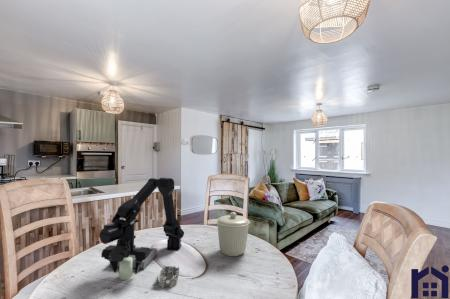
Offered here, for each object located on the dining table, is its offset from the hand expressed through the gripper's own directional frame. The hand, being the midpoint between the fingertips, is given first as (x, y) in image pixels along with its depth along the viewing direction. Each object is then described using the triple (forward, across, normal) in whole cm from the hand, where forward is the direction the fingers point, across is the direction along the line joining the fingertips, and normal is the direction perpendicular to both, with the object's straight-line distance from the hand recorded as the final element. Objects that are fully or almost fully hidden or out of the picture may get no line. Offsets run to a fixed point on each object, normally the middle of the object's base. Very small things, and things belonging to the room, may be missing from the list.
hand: (125, 272), depth 91 cm
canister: (+2, +43, +29) cm, 52 cm away
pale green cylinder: (+2, 0, 0) cm, 2 cm away
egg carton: (+2, +19, 0) cm, 19 cm away
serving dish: (+2, -3, +13) cm, 13 cm away
